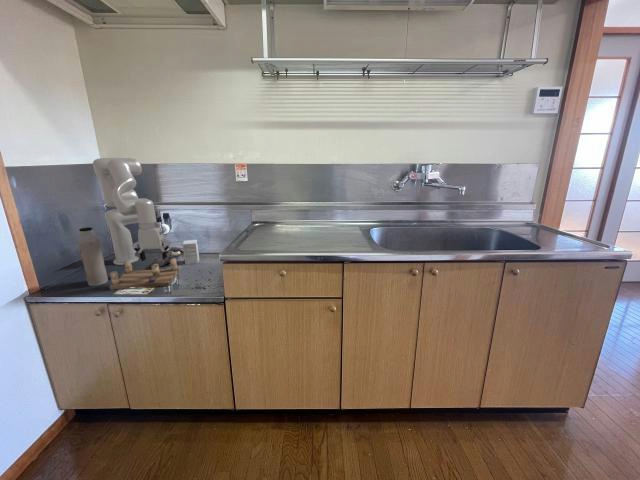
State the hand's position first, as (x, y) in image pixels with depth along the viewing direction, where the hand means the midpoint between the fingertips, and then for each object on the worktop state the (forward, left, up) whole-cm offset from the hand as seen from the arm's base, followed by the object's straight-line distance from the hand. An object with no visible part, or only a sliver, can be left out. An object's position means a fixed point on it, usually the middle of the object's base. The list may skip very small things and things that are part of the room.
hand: (154, 259), depth 141 cm
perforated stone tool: (-23, -4, -12) cm, 27 cm away
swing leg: (+2, 0, -9) cm, 9 cm away
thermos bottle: (-2, -28, -12) cm, 31 cm away
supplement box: (-25, +11, -12) cm, 30 cm away
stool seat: (-1, -5, -11) cm, 13 cm away
